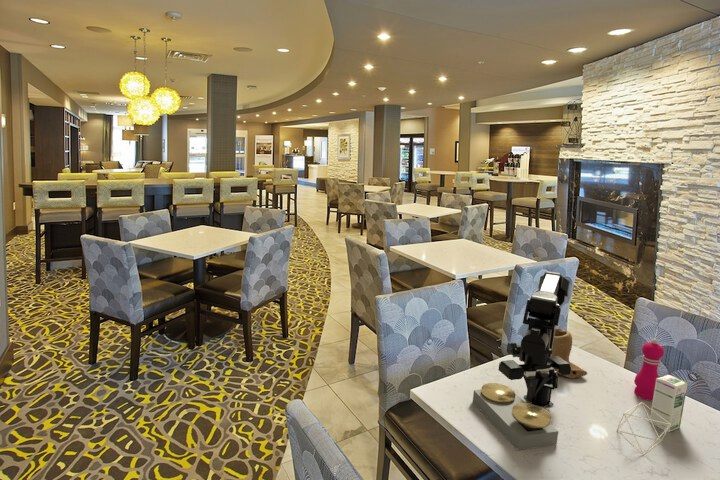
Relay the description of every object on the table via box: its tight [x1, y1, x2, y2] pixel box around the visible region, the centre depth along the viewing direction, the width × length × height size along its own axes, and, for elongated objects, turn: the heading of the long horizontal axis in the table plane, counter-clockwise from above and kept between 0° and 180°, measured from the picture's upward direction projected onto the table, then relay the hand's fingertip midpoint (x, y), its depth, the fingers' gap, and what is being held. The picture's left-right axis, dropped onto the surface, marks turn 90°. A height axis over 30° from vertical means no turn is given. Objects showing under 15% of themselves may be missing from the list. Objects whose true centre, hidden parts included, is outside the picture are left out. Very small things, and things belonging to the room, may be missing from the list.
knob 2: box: [512, 402, 552, 432], centre depth 125 cm, size 10×10×5 cm
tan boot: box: [552, 327, 588, 379], centre depth 165 cm, size 15×12×15 cm
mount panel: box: [472, 388, 559, 451], centre depth 133 cm, size 12×24×4 cm, turn 15°
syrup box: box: [648, 374, 688, 433], centre depth 134 cm, size 6×6×14 cm
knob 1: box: [480, 382, 516, 404], centre depth 141 cm, size 10×10×5 cm
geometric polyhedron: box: [616, 401, 671, 456], centre depth 126 cm, size 12×11×9 cm
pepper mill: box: [633, 338, 665, 401], centre depth 150 cm, size 7×7×20 cm
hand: (531, 396), depth 124 cm, fingers closed
